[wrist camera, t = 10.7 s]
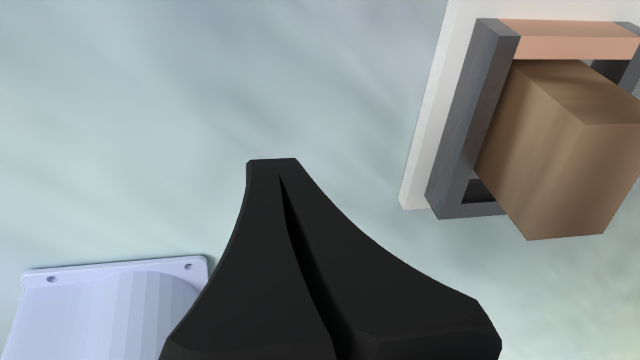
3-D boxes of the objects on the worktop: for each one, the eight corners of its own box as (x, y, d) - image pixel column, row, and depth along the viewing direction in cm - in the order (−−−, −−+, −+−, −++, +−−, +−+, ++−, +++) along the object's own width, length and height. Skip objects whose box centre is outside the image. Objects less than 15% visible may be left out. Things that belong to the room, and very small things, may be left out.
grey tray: (397, 199, 28) (416, 234, 26) (452, -14, 21) (484, 9, 18) (546, 189, 30) (575, 221, 28) (641, -6, 23) (692, 16, 21)
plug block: (467, 162, 26) (527, 240, 21) (503, 57, 22) (585, 125, 18) (531, 159, 27) (602, 233, 22) (577, 58, 23) (672, 122, 19)
